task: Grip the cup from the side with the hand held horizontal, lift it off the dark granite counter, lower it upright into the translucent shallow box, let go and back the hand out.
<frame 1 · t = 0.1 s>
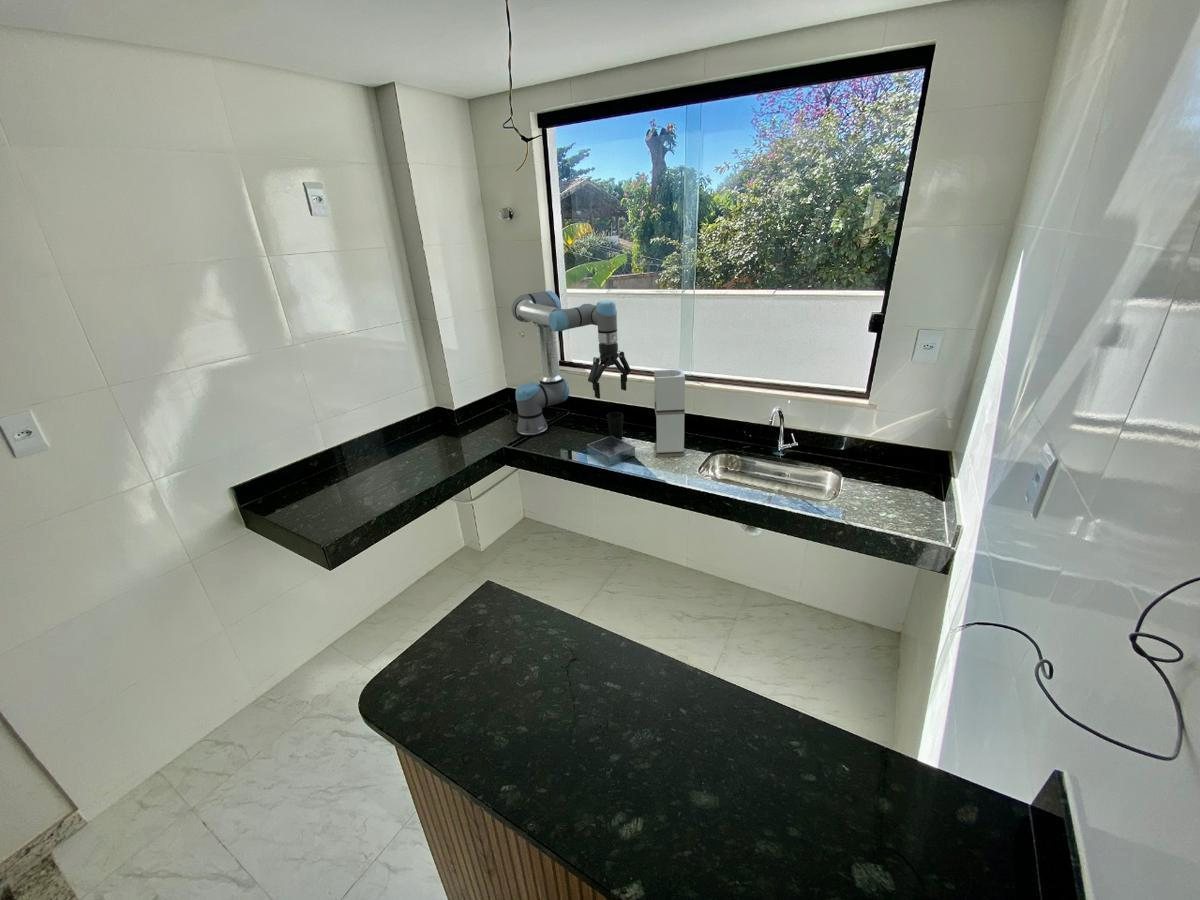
hand: (610, 393, 199), 28 cm above the counter, tool pointing down, fingers open, 13 cm apart
grey square pillar: (669, 451, 211), on the counter
translucent shallow box: (610, 454, 211), on the counter
cup: (616, 439, 226), on the counter
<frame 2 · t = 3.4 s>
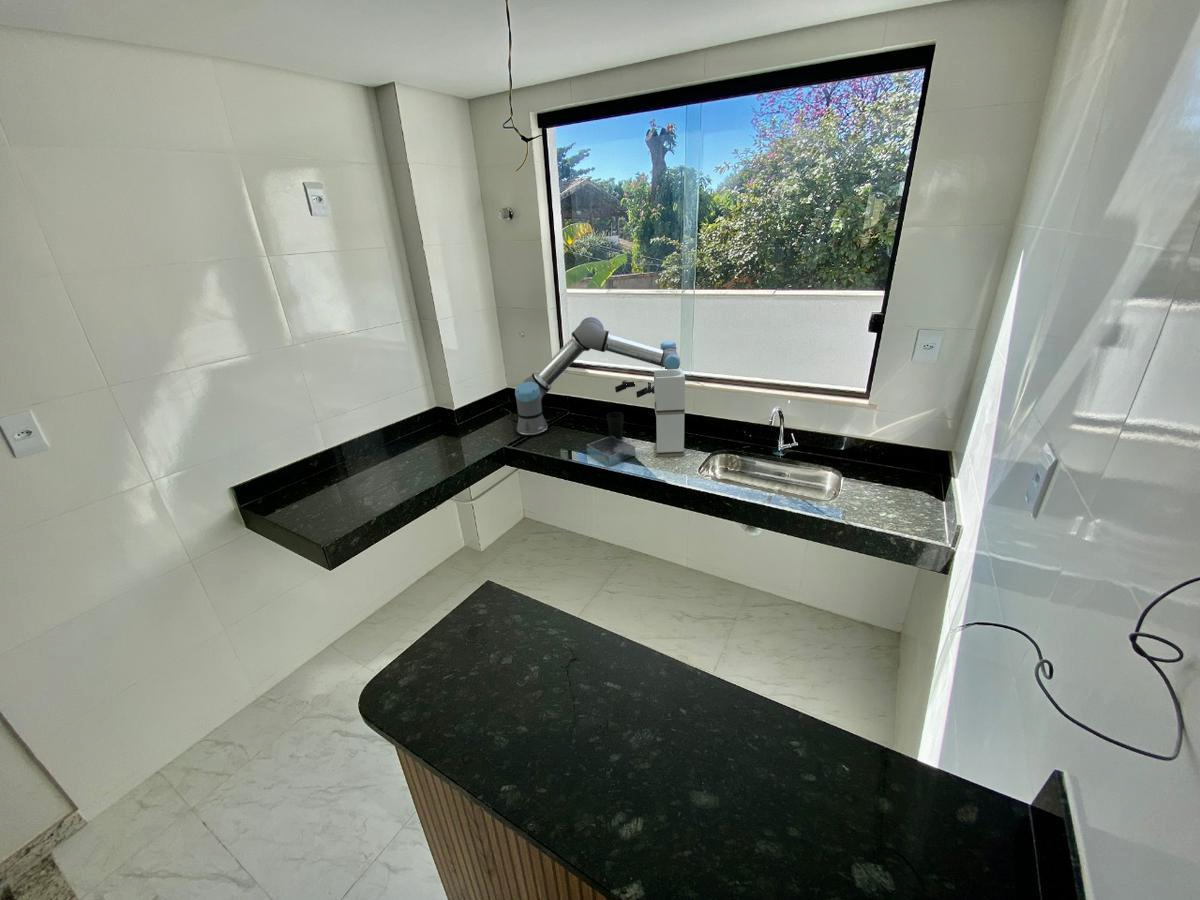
hand: (626, 392, 222), 21 cm above the counter, tool horizontal, fingers open, 13 cm apart
nothing on the counter moved.
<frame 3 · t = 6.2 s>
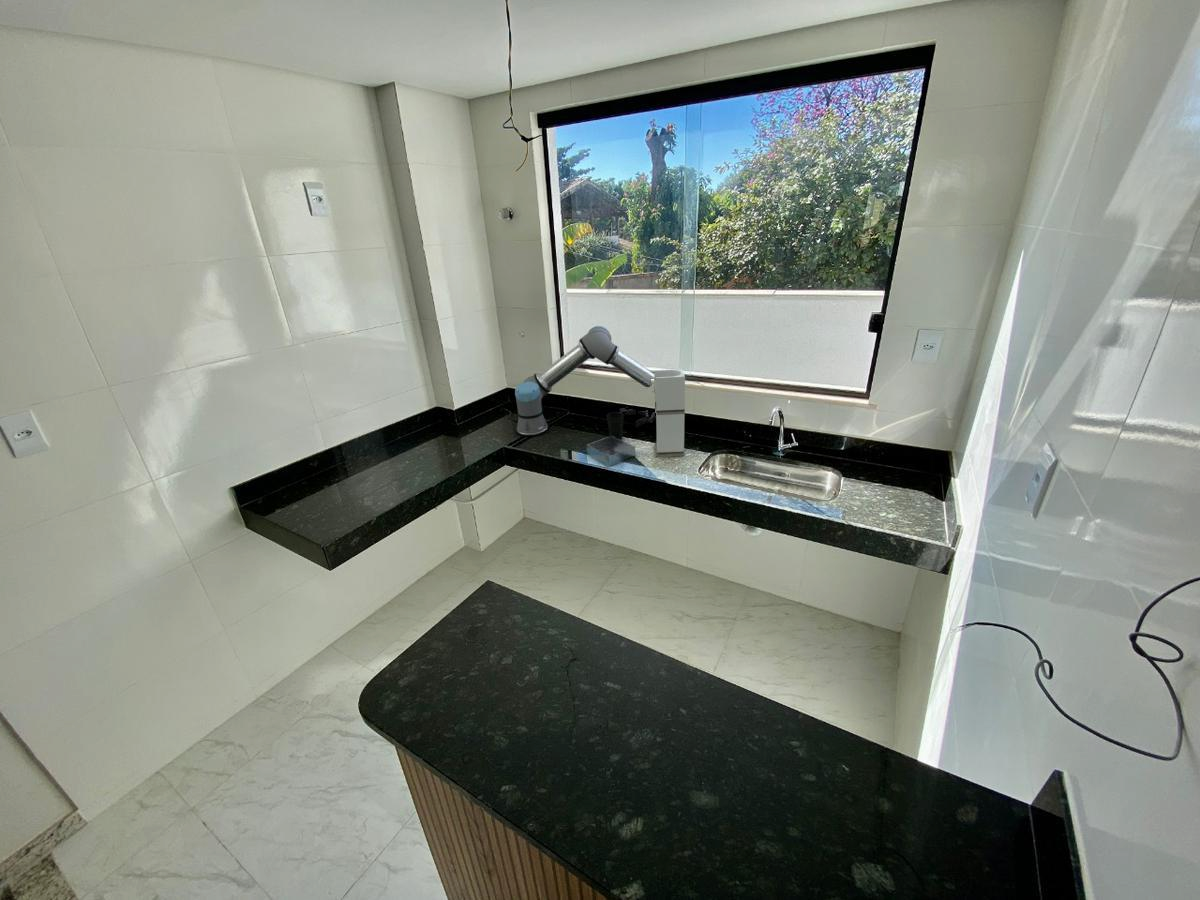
hand: (624, 421, 227), 7 cm above the counter, tool horizontal, fingers open, 13 cm apart
nothing on the counter moved.
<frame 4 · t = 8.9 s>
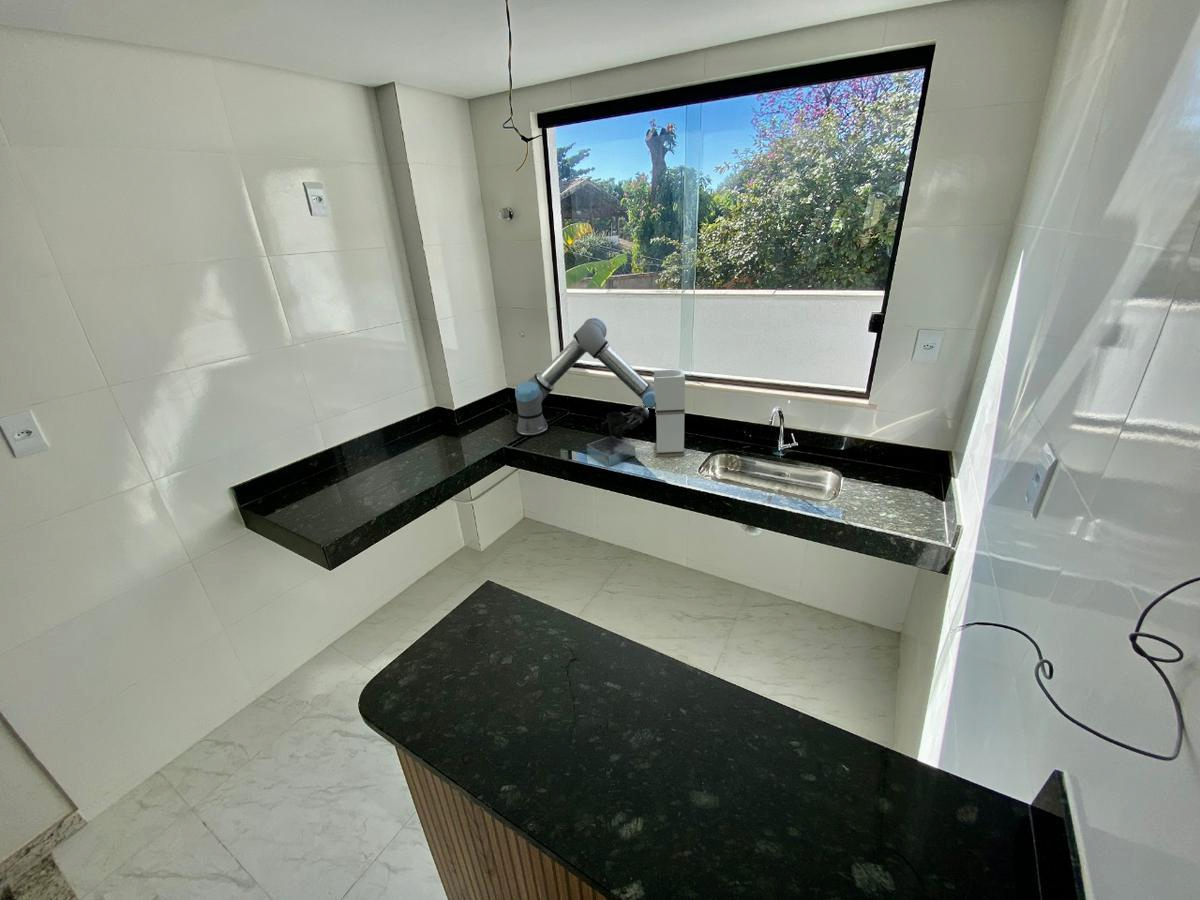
hand: (608, 428, 220), 7 cm above the counter, tool horizontal, fingers closed on cup, 8 cm apart
cup: (616, 439, 226), on the counter, touching gripper
everything else where it was.
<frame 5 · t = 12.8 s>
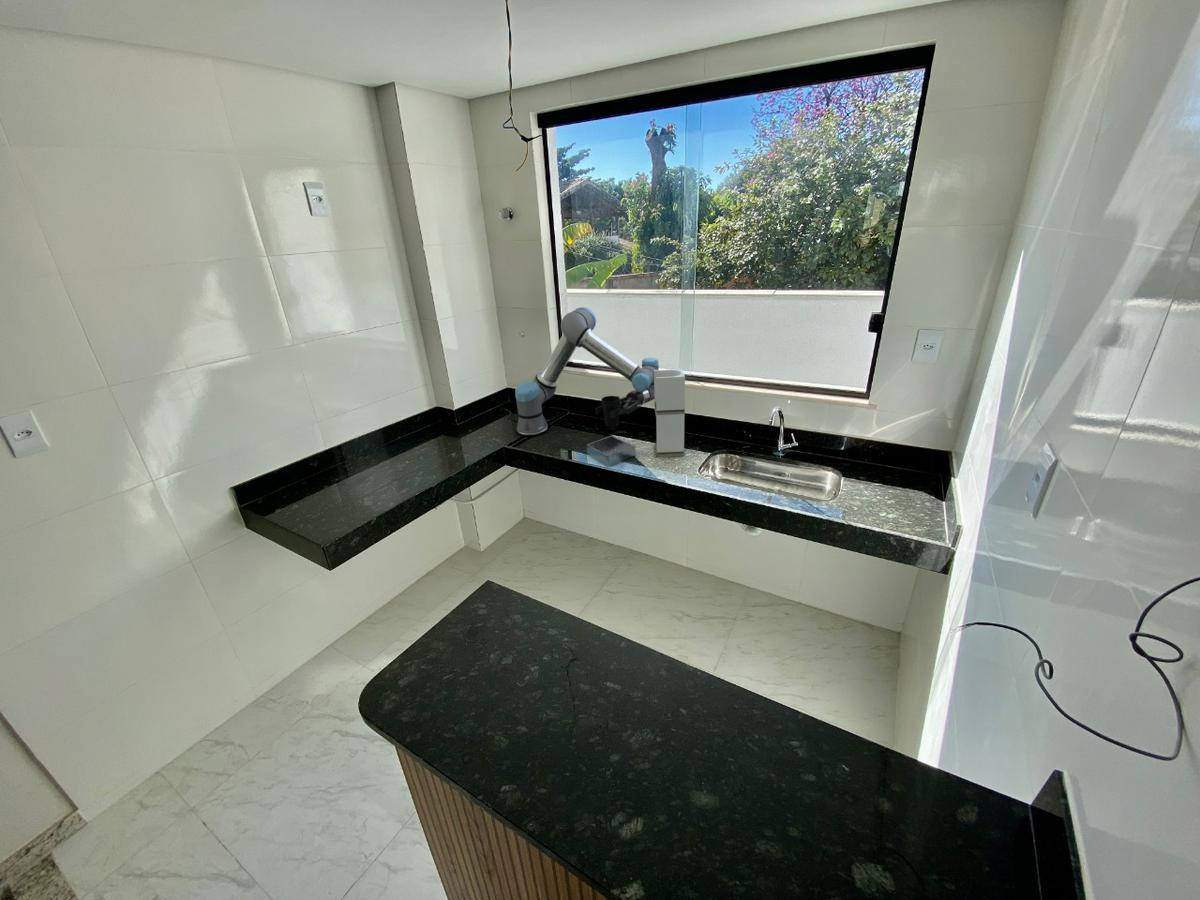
hand: (603, 413, 205), 19 cm above the counter, tool horizontal, fingers closed on cup, 8 cm apart
cup: (611, 425, 211), point 12 cm above the counter, touching gripper
everything else where it was.
when the fingers open (8 cm above the counter, at t = 17.0 s): cup stays where it is, resting on translucent shallow box.
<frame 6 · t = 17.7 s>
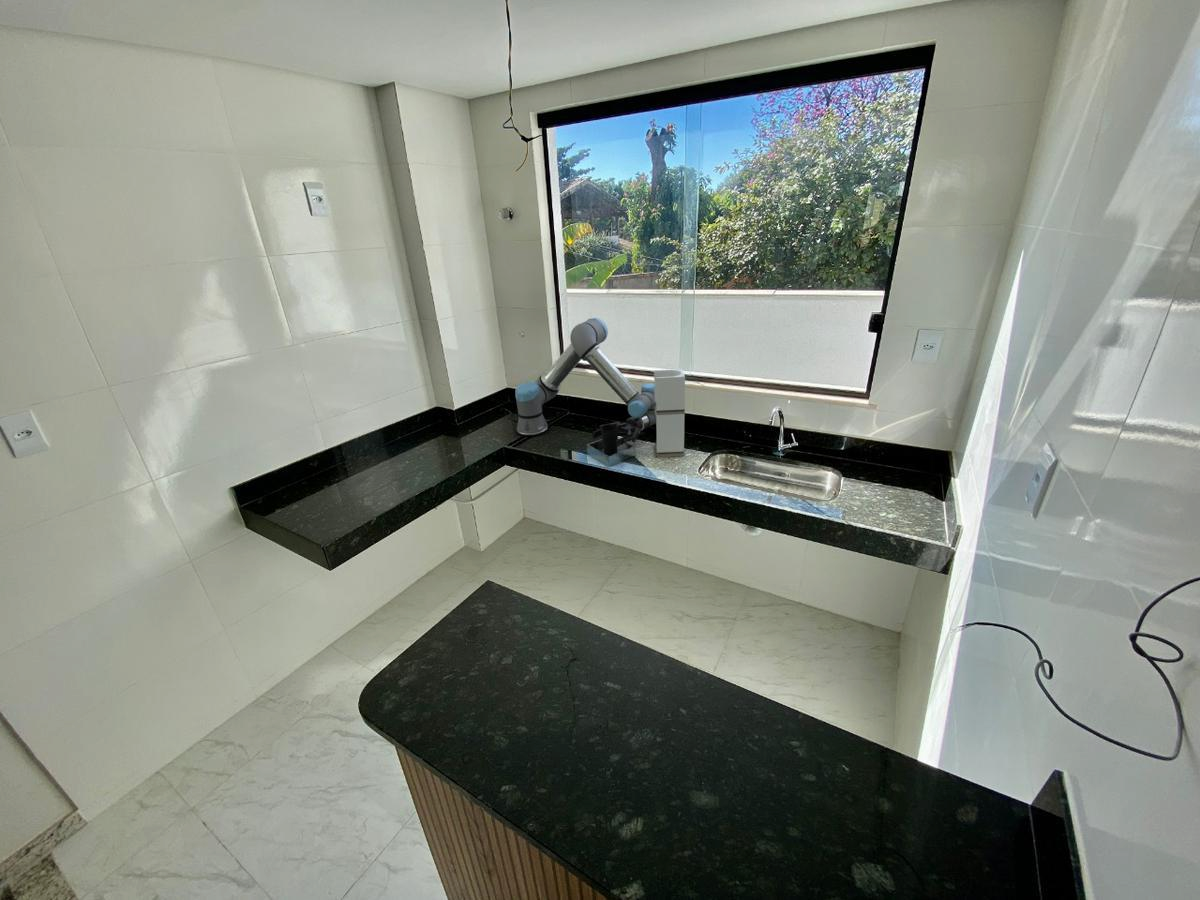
hand: (604, 439, 205), 9 cm above the counter, tool horizontal, fingers open, 13 cm apart
cup: (610, 453, 211), point 1 cm above the counter, touching translucent shallow box
everything else where it was.
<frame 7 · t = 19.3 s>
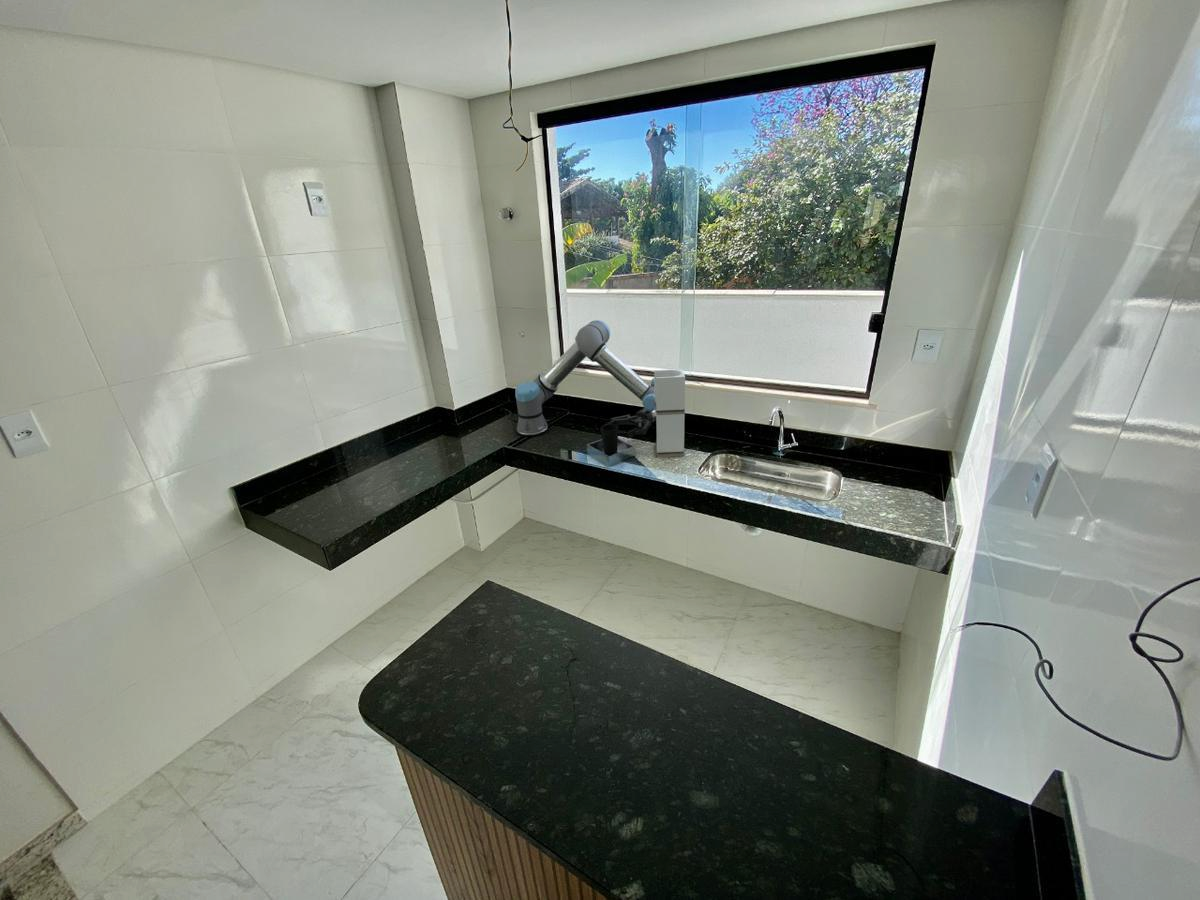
hand: (615, 431, 210), 10 cm above the counter, tool horizontal, fingers open, 13 cm apart
nothing on the counter moved.
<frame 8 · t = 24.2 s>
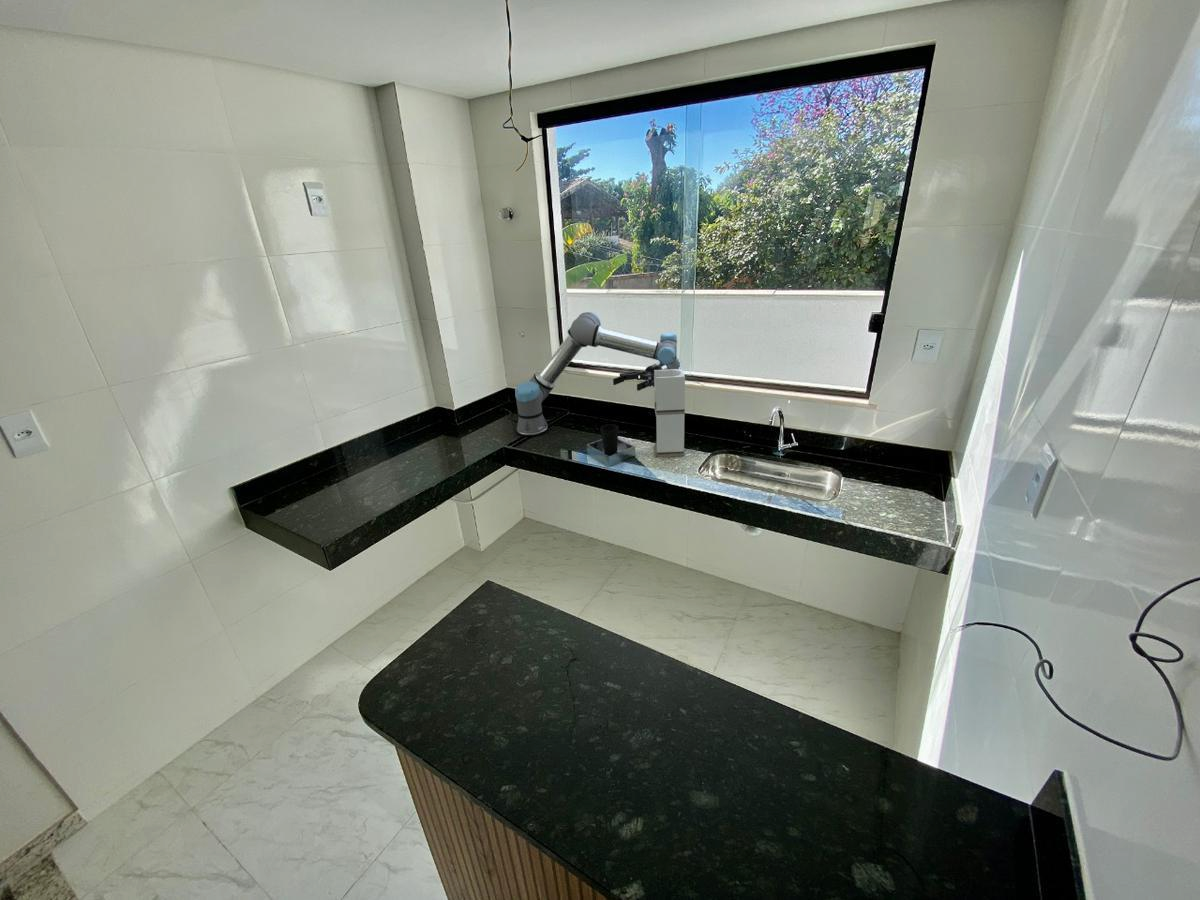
hand: (625, 384, 208), 28 cm above the counter, tool horizontal, fingers open, 13 cm apart
nothing on the counter moved.
at the end: cup inside the target area in the translucent shallow box (0.0 cm from its centre), point 0.8 cm above the translucent shallow box's base; cup tilted 0°; the gripper is holding nothing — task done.
